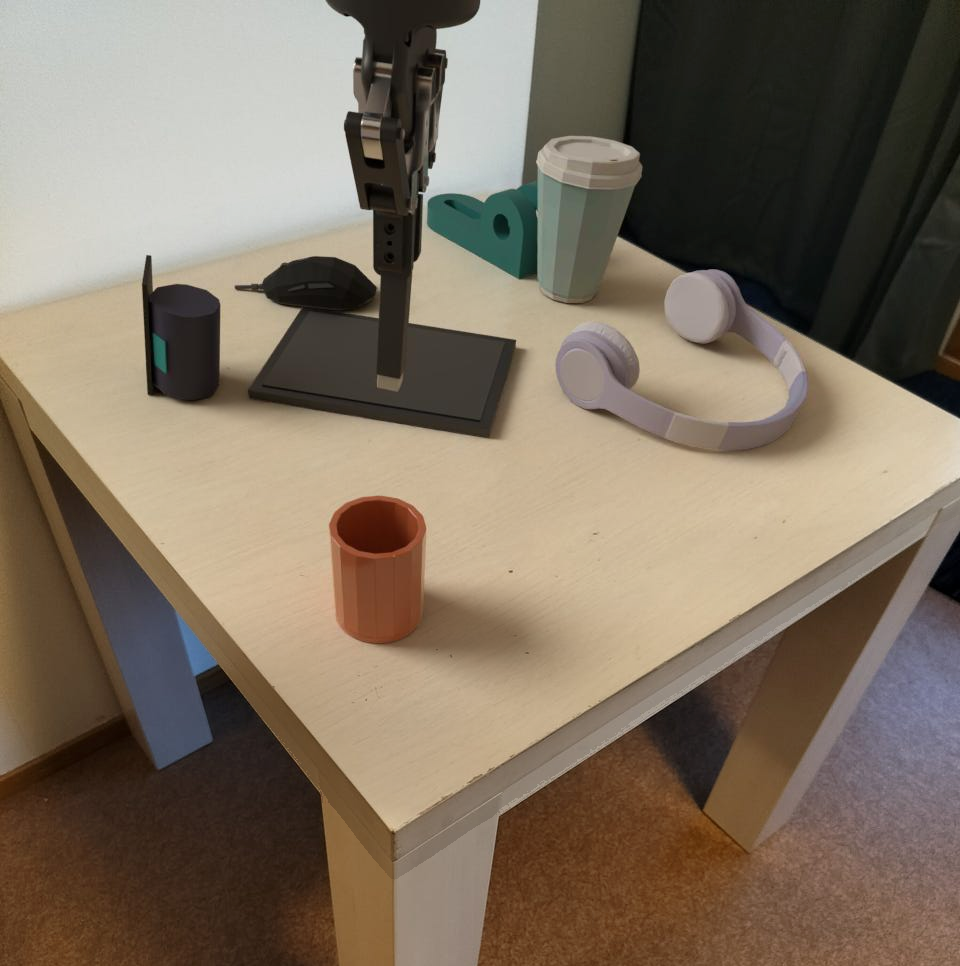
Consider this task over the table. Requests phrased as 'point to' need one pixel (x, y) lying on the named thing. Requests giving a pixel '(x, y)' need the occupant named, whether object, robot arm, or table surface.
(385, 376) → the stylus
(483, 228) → the bracket
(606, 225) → the disposable coffee cup
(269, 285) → the gaming mouse
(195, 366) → the speaker
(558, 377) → the headphones
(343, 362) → the tablet
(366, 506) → the pen cup
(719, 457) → the table surface
